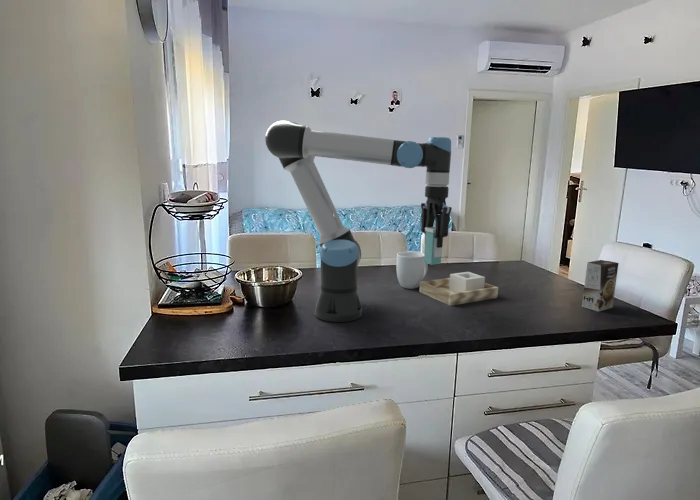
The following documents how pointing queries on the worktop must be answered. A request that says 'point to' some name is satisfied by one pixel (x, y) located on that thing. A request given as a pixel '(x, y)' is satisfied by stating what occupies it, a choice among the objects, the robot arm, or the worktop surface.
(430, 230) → the plug
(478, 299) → the wooden tray
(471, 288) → the inlet
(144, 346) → the worktop surface
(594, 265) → the coffee box
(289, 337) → the worktop surface
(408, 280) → the mug
